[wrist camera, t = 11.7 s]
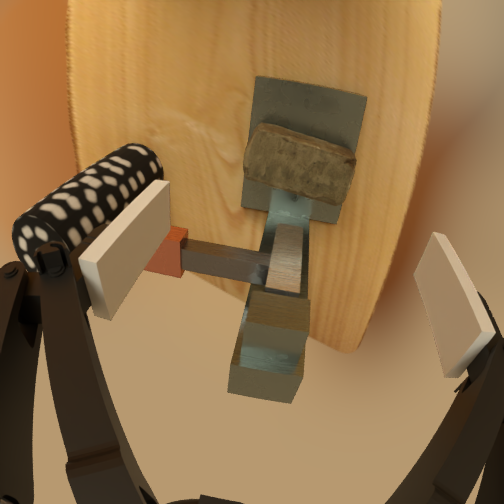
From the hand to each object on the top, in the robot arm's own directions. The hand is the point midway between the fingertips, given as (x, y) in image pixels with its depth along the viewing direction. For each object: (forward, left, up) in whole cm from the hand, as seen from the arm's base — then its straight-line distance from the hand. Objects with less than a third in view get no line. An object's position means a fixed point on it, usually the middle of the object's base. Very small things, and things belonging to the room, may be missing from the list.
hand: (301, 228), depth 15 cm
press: (+5, 0, -23) cm, 24 cm away
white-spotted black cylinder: (+9, -21, -24) cm, 33 cm away
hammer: (+8, -5, -13) cm, 16 cm away
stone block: (+3, 0, -22) cm, 22 cm away
